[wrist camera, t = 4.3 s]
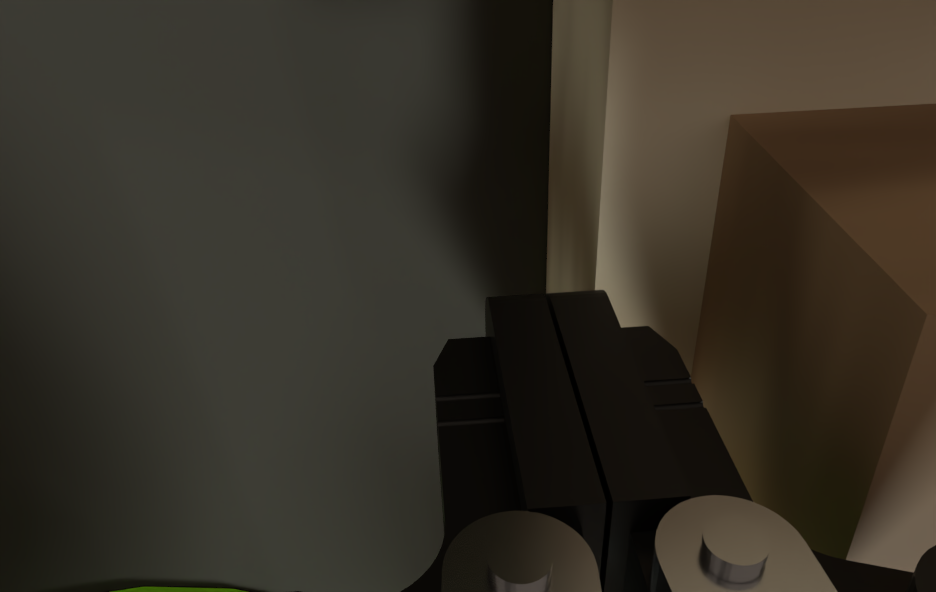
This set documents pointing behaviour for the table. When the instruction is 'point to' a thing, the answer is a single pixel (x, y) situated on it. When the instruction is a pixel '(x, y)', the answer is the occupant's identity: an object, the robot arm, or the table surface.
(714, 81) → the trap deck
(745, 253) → the light brown block
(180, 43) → the table surface
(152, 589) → the wineglass
